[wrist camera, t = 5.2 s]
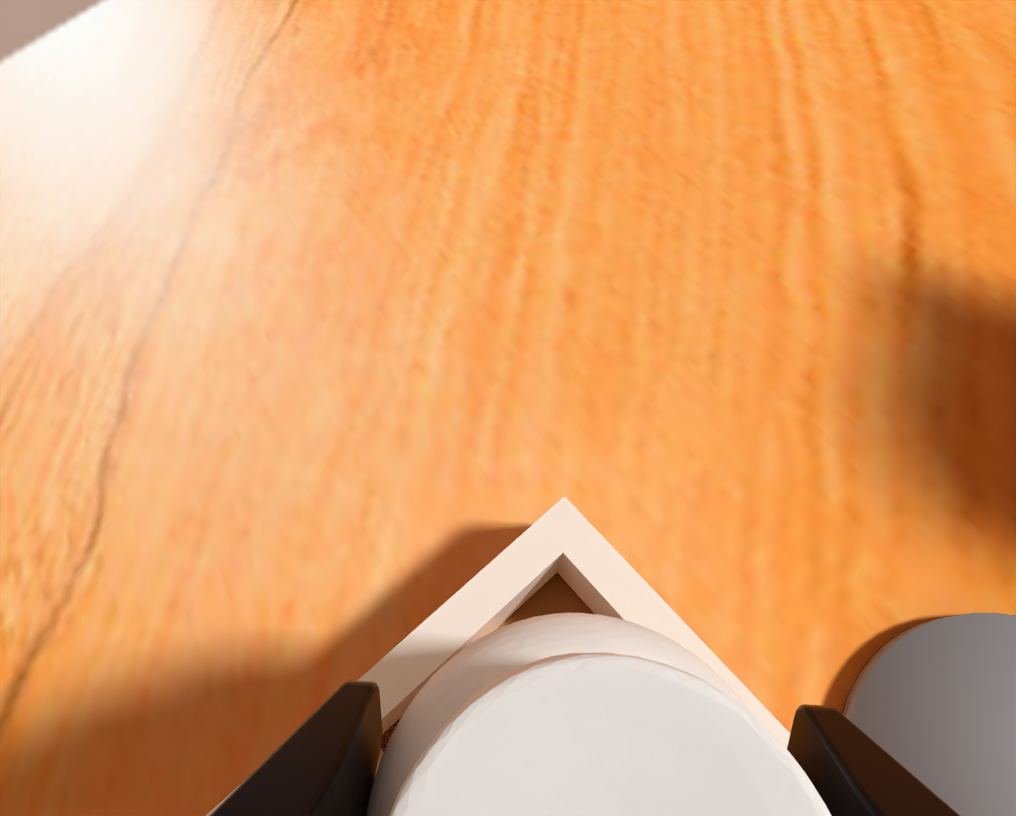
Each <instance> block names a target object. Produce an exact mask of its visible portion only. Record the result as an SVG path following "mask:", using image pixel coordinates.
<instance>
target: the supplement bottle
mask: <svg viewBox="0 0 1016 816" xmlns="http://www.w3.org/2000/svg"><path fill="white" fill-rule="evenodd" d="M366 816H831V814H830V812H829V810H828V808H827V806H826V805H825V803H824V801H823V800H822V798H821V797H820V795H819V794H818V792H817V790H816V789H815V787H814V785H813V784H812V782H811V781H810V779H809V778H808V776H807V775H806V773H805V772H804V770H803V769H802V768H801V766H800V765H799V764H798V763H797V761H796V760H795V759H794V757H793V756H792V755H791V754H790V752H789V751H788V750H787V749H786V748H785V747H784V746H783V745H782V744H781V743H780V741H779V740H778V739H777V738H776V737H775V736H774V735H773V734H772V733H771V732H770V731H769V730H768V729H767V728H766V727H765V726H764V725H763V724H762V723H761V722H760V721H759V720H758V719H757V718H756V717H755V716H753V714H752V713H751V712H750V710H749V709H748V707H747V706H746V705H745V703H744V702H743V701H742V700H741V699H740V697H739V696H738V695H737V694H736V693H735V691H734V690H733V689H732V688H731V687H730V686H729V685H728V684H727V683H726V682H725V681H724V680H723V679H722V678H721V677H720V676H719V675H718V674H717V673H716V672H715V671H714V670H713V669H712V668H710V667H709V666H708V665H707V664H706V663H704V662H703V661H702V660H701V659H699V658H698V657H697V656H696V655H694V654H693V653H691V652H690V651H688V650H687V649H685V648H684V647H683V646H681V645H680V644H678V643H676V642H675V641H673V640H671V639H669V638H668V637H666V636H664V635H662V634H660V633H658V632H656V631H653V630H651V629H648V628H646V627H643V626H641V625H638V624H636V623H633V622H630V621H626V620H623V619H619V618H615V617H610V616H605V615H598V614H587V613H555V614H548V615H542V616H535V617H531V618H527V619H524V620H520V621H517V622H514V623H512V624H509V625H506V626H504V627H501V628H499V629H497V630H495V631H493V632H491V633H489V634H487V635H485V636H483V637H481V638H479V639H477V640H476V641H474V642H473V643H471V644H470V645H468V646H467V647H466V648H464V649H463V650H462V651H460V652H459V653H458V654H456V655H455V656H454V657H453V658H451V659H450V660H449V661H448V662H447V663H446V664H445V665H443V666H442V667H441V668H440V669H439V670H438V671H437V672H436V673H435V674H434V675H433V676H432V677H431V678H430V679H429V681H428V682H427V683H426V684H425V685H424V687H423V688H422V689H421V690H420V691H419V693H418V694H417V695H416V696H415V698H414V699H413V701H412V702H411V704H410V705H409V707H408V708H407V709H406V711H405V712H404V714H403V716H402V717H401V719H400V721H399V723H398V725H397V727H396V728H395V730H394V732H393V734H392V736H391V738H390V740H389V742H388V744H387V747H386V749H385V751H384V754H383V756H382V758H381V761H380V764H379V767H378V770H377V773H376V776H375V779H374V783H373V786H372V789H371V793H370V798H369V802H368V806H367V812H366Z"/></svg>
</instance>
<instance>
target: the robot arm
mask: <svg viewBox="0 0 1016 816" xmlns="http://www.w3.org/2000/svg"><path fill="white" fill-rule="evenodd" d="M381 743H382V716H381V703H380V691H379V687H378V685H377V684H376V683H375V682H373V681H354V680H350V681H347V682H345V683H344V684H342V685H341V686H340V687H339V688H338V689H337V690H336V691H335V692H334V693H333V694H332V695H331V696H330V697H329V698H328V699H327V700H326V701H325V702H324V703H323V704H322V705H321V706H320V707H319V708H318V709H317V710H316V711H315V712H314V713H313V714H312V715H311V716H310V717H309V718H308V719H307V720H306V721H305V722H304V723H303V724H302V725H301V726H300V727H299V728H298V729H297V730H296V731H295V732H294V733H293V734H292V735H291V736H290V737H289V738H288V739H287V740H286V741H285V742H284V743H283V744H282V745H281V746H280V747H279V748H278V749H277V750H276V751H275V752H274V753H272V754H271V755H270V756H269V757H268V758H267V759H266V760H265V761H264V762H263V763H262V764H261V765H260V766H259V767H258V768H257V769H256V770H255V771H254V772H253V773H252V774H251V775H250V776H249V777H248V778H247V779H246V780H245V781H244V782H243V783H242V784H241V785H240V786H239V787H238V788H237V789H236V790H235V791H234V792H233V793H232V794H231V795H230V796H229V797H228V798H227V799H226V800H225V801H224V802H223V803H222V804H221V805H220V806H219V807H218V808H217V809H216V810H215V811H214V812H213V813H212V814H211V815H210V816H366V812H367V806H368V802H369V798H370V793H371V789H372V786H373V783H374V779H375V774H376V769H377V764H378V759H379V754H380V749H381ZM787 750H788V751H789V752H790V754H791V755H792V756H793V757H794V759H795V760H796V761H797V763H798V764H799V765H800V766H801V768H802V769H803V770H804V772H805V773H806V775H807V776H808V778H809V779H810V781H811V782H812V784H813V785H814V787H815V789H816V790H817V792H818V794H819V795H820V797H821V798H822V800H823V801H824V803H825V805H826V806H827V808H828V810H829V812H830V814H831V816H960V815H959V814H958V813H957V812H955V811H954V810H953V809H952V808H951V807H950V806H949V805H947V804H946V803H945V802H944V801H943V800H942V799H940V798H939V797H938V796H937V795H936V794H935V793H933V792H932V791H931V790H930V789H929V788H928V787H926V786H925V785H924V784H923V783H922V782H921V781H920V780H918V779H917V778H916V777H915V776H914V775H913V774H911V773H910V772H909V771H908V770H907V769H906V768H904V767H903V766H902V765H901V764H900V763H899V762H898V761H896V760H895V759H894V758H893V757H892V756H891V755H889V754H888V753H887V752H886V751H885V750H884V749H882V748H881V747H880V746H879V745H878V744H877V743H875V742H874V741H873V740H872V739H871V738H870V737H869V736H867V735H866V734H865V733H864V732H863V731H862V730H860V729H859V728H858V727H857V726H856V725H855V724H853V723H852V722H851V721H850V720H849V719H848V718H847V717H845V716H844V715H843V714H842V713H841V712H839V711H838V710H837V709H835V708H833V707H831V706H822V705H801V706H799V707H798V708H797V710H796V713H795V716H794V720H793V725H792V729H791V733H790V738H789V742H788V746H787Z"/></svg>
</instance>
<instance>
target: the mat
mask: <svg viewBox="0 0 1016 816" xmlns="http://www.w3.org/2000/svg"><path fill="white" fill-rule="evenodd" d="M842 714H843V715H844V716H845V717H847V718H848V719H849V720H850V721H851V722H852V723H853V724H855V725H856V726H857V727H858V728H859V729H860V730H862V731H863V732H864V733H865V734H866V735H867V736H869V737H870V738H871V739H872V740H873V741H874V742H875V743H877V744H878V745H879V746H880V747H881V748H882V749H884V750H885V751H886V752H887V753H888V754H889V755H891V756H892V757H893V758H894V759H895V760H896V761H898V762H899V763H900V764H901V765H902V766H903V767H904V768H906V769H907V770H908V771H909V772H910V773H911V774H913V775H914V776H915V777H916V778H917V779H918V780H920V781H921V782H922V783H923V784H924V785H925V786H926V787H928V788H929V789H930V790H931V791H932V792H933V793H935V794H936V795H937V796H938V797H939V798H940V799H942V800H943V801H944V802H945V803H946V804H947V805H949V806H950V807H951V808H952V809H953V810H954V811H955V812H957V813H958V814H959V815H960V816H1016V616H1014V615H1006V614H998V613H971V614H964V615H957V616H950V617H943V618H937V619H934V620H931V621H927V622H924V623H921V624H918V625H916V626H914V627H912V628H910V629H907V630H905V631H903V632H901V633H900V634H898V635H897V636H895V637H894V638H893V639H891V640H890V641H888V642H887V643H886V644H884V645H883V646H882V647H881V648H880V649H879V650H878V651H877V652H876V653H875V654H874V655H873V656H872V657H871V658H870V659H869V661H868V662H867V664H866V665H865V666H864V668H863V669H862V671H861V672H860V673H859V675H858V677H857V679H856V681H855V683H854V685H853V687H852V689H851V691H850V693H849V695H848V698H847V701H846V704H845V707H844V710H843V713H842Z"/></svg>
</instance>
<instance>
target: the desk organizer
mask: <svg viewBox="0 0 1016 816" xmlns="http://www.w3.org/2000/svg"><path fill="white" fill-rule="evenodd" d="M556 573H558V574H559V575H560V576H561V577H562V578H563V579H564V581H565V582H566V583H567V584H568V585H569V586H570V587H571V588H572V589H573V591H574V592H575V593H576V594H577V595H578V596H579V597H580V598H581V600H582V601H583V602H584V603H585V604H586V605H587V606H588V607H589V608H590V610H591V611H592V612H593V613H594V614H598V615H605V616H610V617H615V618H619V619H623V620H626V621H630V622H633V623H636V624H638V625H641V626H643V627H646V628H648V629H651V630H653V631H656V632H658V633H660V634H662V635H664V636H666V637H668V638H669V639H671V640H673V641H675V642H676V643H678V644H680V645H681V646H683V647H684V648H685V649H687V650H688V651H690V652H691V653H693V654H694V655H696V656H697V657H698V658H699V659H701V660H702V661H703V662H704V663H706V664H707V665H708V666H709V667H710V668H712V669H713V670H714V671H715V672H716V673H717V674H718V675H719V676H720V677H721V678H722V679H723V680H724V681H725V682H726V683H727V684H728V685H729V686H730V687H731V688H732V689H733V690H734V691H735V693H736V694H737V695H738V696H739V697H740V699H741V700H742V701H743V702H744V703H745V705H746V706H747V707H748V709H749V710H750V712H751V713H752V714H753V716H755V717H756V718H757V719H758V720H759V721H760V722H761V723H762V724H763V725H764V726H765V727H766V728H767V729H768V730H769V731H770V732H771V733H772V734H773V735H774V736H775V737H776V738H777V739H778V740H779V741H780V743H781V744H782V745H783V746H784V747H785V748H786V749H787V746H788V742H789V738H790V733H789V732H788V731H787V730H786V729H785V728H784V727H783V726H782V725H781V724H780V722H779V721H778V720H777V719H776V718H775V717H774V716H773V715H772V714H771V713H770V712H769V711H768V710H767V709H766V708H765V707H764V706H763V705H762V704H761V702H760V701H759V700H758V699H757V698H756V697H755V696H754V695H753V694H752V693H751V692H750V691H749V690H748V689H747V688H746V687H745V686H744V685H743V684H742V683H741V681H740V680H739V679H738V678H737V677H736V676H735V675H734V674H733V673H732V672H731V671H730V670H729V669H728V668H727V667H726V666H725V665H724V664H723V663H722V661H721V660H720V659H719V658H718V657H717V656H716V655H715V654H714V653H713V652H712V651H711V650H710V649H709V648H708V647H707V646H706V645H705V644H704V643H703V641H702V640H701V639H700V638H699V637H698V636H697V635H696V634H695V633H694V632H693V631H692V630H691V629H690V628H689V627H688V626H687V625H686V624H685V623H684V621H683V620H682V619H681V618H680V617H679V616H678V615H677V614H676V613H675V612H674V611H673V610H672V609H671V608H670V607H669V606H668V605H667V604H666V603H665V601H664V600H663V599H662V598H661V597H660V596H659V595H658V594H657V593H656V592H655V591H654V590H653V589H652V588H651V587H650V586H649V585H648V584H647V583H646V581H645V580H644V579H643V578H642V577H641V576H640V575H639V574H638V573H637V572H636V571H635V570H634V569H633V568H632V567H631V566H630V565H629V564H628V563H627V561H626V560H625V559H624V558H623V557H622V556H621V555H620V554H619V553H618V552H617V551H616V550H615V549H614V548H613V547H612V546H611V545H610V544H609V543H608V541H607V540H606V539H605V538H604V537H603V536H602V535H601V534H600V533H599V532H598V531H597V530H596V529H595V528H594V527H593V526H592V525H591V524H590V523H589V521H588V520H587V519H586V518H585V517H584V516H583V515H582V514H581V513H580V512H579V511H578V510H577V509H576V508H575V507H574V506H573V505H572V504H571V503H570V501H569V500H568V499H567V498H566V497H565V496H564V497H563V498H562V499H561V500H560V501H559V502H558V503H556V504H555V505H554V506H553V507H552V508H551V509H550V510H549V511H547V512H546V513H545V514H544V515H543V516H542V517H541V518H540V519H538V520H537V521H536V522H535V523H534V524H533V525H532V526H531V527H529V528H528V529H527V530H526V531H525V532H524V533H523V534H522V535H520V536H519V537H518V538H517V539H516V540H515V541H514V542H513V543H511V544H510V545H509V546H508V547H507V548H506V549H505V550H503V551H502V552H501V553H500V554H499V555H498V556H497V557H496V558H494V559H493V560H492V561H491V562H490V563H489V564H488V565H487V566H485V567H484V568H483V569H482V570H481V571H480V572H479V573H478V574H476V575H475V576H474V577H473V578H472V579H471V580H470V581H469V582H467V583H466V584H465V585H464V586H463V587H462V588H461V589H460V590H458V591H457V592H456V593H455V594H454V595H453V596H452V597H451V598H449V599H448V600H447V601H446V602H445V603H444V604H443V605H442V606H440V607H439V608H438V609H437V610H436V611H435V612H434V613H433V614H431V615H430V616H429V617H428V618H427V619H426V620H425V621H424V622H422V623H421V624H420V625H419V626H418V627H417V628H416V629H415V630H413V631H412V632H411V633H410V634H409V635H408V636H407V637H406V638H404V639H403V640H402V641H401V642H400V643H399V644H398V645H397V646H395V647H394V648H393V649H392V650H391V651H390V652H389V653H388V654H386V655H385V656H384V657H383V658H382V659H381V660H380V661H379V662H377V663H376V664H375V665H374V666H373V667H372V668H371V669H370V670H368V671H367V672H366V673H365V674H364V675H363V676H362V677H361V678H359V679H358V680H357V681H373V682H375V683H376V684H377V685H378V687H379V691H380V703H381V716H382V735H383V734H384V733H385V732H386V731H387V730H388V729H389V728H390V727H391V726H392V725H393V724H394V723H395V722H397V721H398V720H399V719H400V718H401V717H402V716H403V714H404V712H405V711H406V709H407V708H408V707H409V705H410V704H411V702H412V701H413V699H414V698H415V696H416V695H417V694H418V693H419V691H420V690H421V689H422V688H423V687H424V685H425V684H426V683H427V682H428V681H429V679H430V678H431V677H432V676H433V675H434V674H435V673H436V672H437V671H438V670H439V669H440V668H441V667H442V666H443V665H445V664H446V663H447V662H448V661H449V660H450V659H451V658H453V657H454V656H455V655H456V654H458V653H459V652H460V651H462V650H463V649H464V648H466V647H467V646H468V645H470V644H471V643H473V642H474V641H476V640H477V639H479V638H481V637H483V636H485V635H487V634H489V633H491V632H493V631H495V630H496V629H497V628H498V627H499V626H500V625H501V624H502V623H503V622H504V621H505V620H507V619H508V618H509V617H510V616H511V615H512V614H513V613H514V612H515V611H516V610H517V609H518V608H519V607H521V606H522V605H523V604H524V603H525V602H526V601H527V600H528V599H529V598H530V597H531V596H532V595H533V594H535V593H536V592H537V591H538V590H539V589H540V588H541V587H542V586H543V585H544V584H545V583H546V582H547V581H549V580H550V579H551V578H552V577H553V576H554V575H555V574H556ZM383 754H384V751H383V750H382V748H381V749H380V754H379V759H378V764H377V769H376V773H377V770H378V767H379V764H380V761H381V758H382V756H383ZM375 776H376V774H375ZM243 782H244V781H243ZM243 782H242V783H243ZM242 783H241V784H242ZM241 784H240V785H241ZM240 785H239V786H240ZM239 786H238V787H239ZM238 787H237V788H238ZM237 788H236V789H237ZM236 789H234V790H233V791H232V792H231V793H230V794H229V795H228V796H227V797H225V798H224V799H223V800H222V801H221V802H220V803H219V804H218V805H216V806H215V807H214V808H213V809H212V810H211V811H210V812H209V813H207V814H206V815H205V816H210V815H211V814H212V813H213V812H214V811H215V810H216V809H217V808H218V807H219V806H220V805H221V804H222V803H223V802H224V801H225V800H226V799H227V798H228V797H229V796H230V795H231V794H232V793H233V792H234V791H235V790H236Z"/></svg>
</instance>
